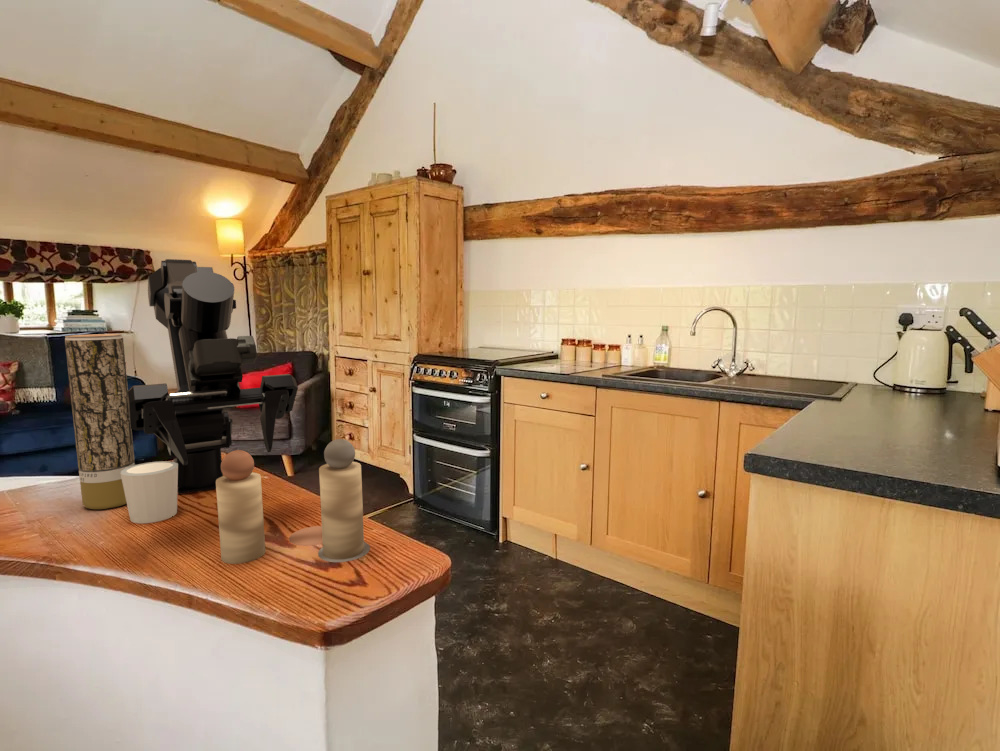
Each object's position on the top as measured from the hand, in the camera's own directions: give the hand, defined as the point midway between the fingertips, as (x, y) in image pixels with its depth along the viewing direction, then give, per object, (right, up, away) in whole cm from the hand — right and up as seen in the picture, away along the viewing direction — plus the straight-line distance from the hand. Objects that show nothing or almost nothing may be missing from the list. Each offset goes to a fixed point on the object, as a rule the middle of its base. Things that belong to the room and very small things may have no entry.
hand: (229, 456), depth 67 cm
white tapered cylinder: (-16, -10, +12) cm, 23 cm away
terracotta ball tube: (+3, -12, -2) cm, 12 cm away
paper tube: (-26, -10, +17) cm, 32 cm away
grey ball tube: (+14, -11, -2) cm, 18 cm away
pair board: (+11, -11, +1) cm, 16 cm away
